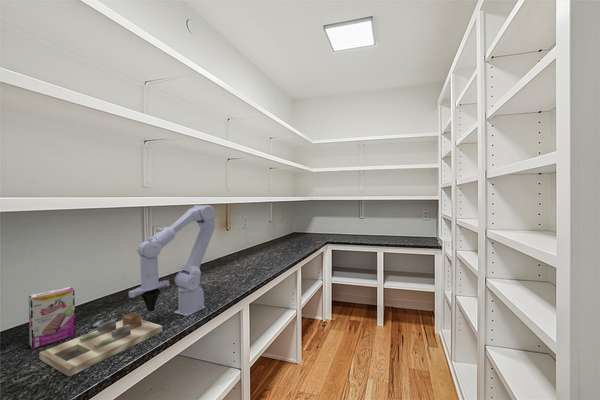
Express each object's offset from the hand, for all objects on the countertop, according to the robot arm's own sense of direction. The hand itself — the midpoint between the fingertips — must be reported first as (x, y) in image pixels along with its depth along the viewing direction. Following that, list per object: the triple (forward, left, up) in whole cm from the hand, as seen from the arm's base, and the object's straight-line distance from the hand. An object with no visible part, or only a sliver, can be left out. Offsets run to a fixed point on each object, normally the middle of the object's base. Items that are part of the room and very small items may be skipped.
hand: (150, 310), depth 103 cm
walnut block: (+7, 0, -3) cm, 8 cm away
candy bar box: (+22, -19, -5) cm, 30 cm away
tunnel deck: (+15, 0, -5) cm, 16 cm away
